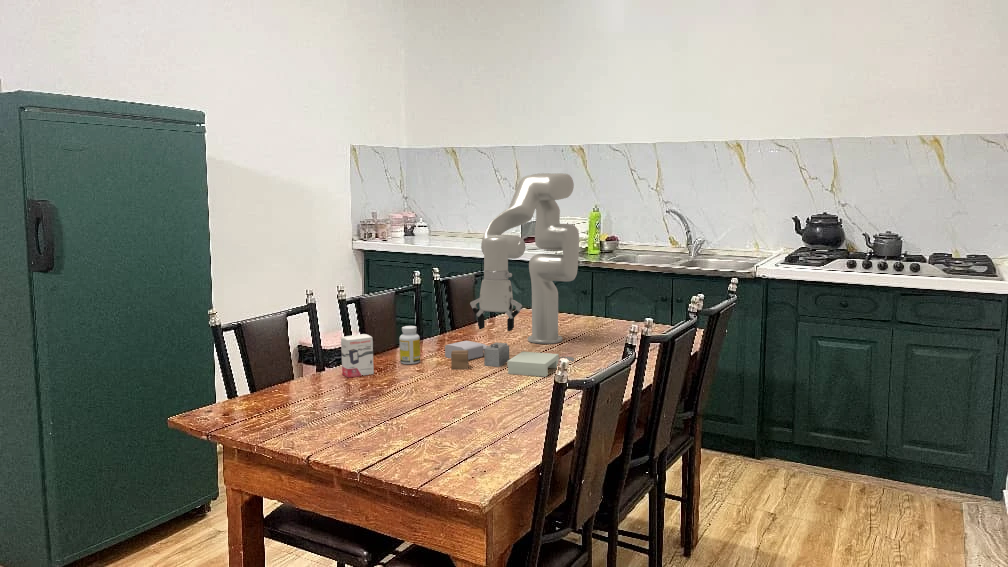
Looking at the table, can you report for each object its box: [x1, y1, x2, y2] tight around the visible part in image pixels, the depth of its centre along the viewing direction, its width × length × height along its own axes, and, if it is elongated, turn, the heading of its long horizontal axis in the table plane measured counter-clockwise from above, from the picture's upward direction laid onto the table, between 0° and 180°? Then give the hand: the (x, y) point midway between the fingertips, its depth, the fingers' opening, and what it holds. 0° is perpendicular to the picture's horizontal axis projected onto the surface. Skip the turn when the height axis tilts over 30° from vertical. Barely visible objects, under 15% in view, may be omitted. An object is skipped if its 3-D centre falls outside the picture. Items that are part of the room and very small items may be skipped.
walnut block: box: [450, 350, 469, 371], centre depth 252 cm, size 5×5×5 cm
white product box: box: [340, 333, 375, 379], centre depth 244 cm, size 8×5×12 cm, turn 123°
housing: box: [483, 341, 510, 368], centre depth 257 cm, size 9×5×7 cm, turn 158°
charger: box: [444, 340, 489, 361], centre depth 268 cm, size 5×9×15 cm
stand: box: [506, 350, 560, 378], centre depth 248 cm, size 14×12×4 cm
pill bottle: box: [398, 325, 421, 365], centre depth 259 cm, size 6×6×12 cm
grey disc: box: [558, 356, 575, 362], centre depth 261 cm, size 5×5×1 cm
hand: (495, 329), depth 256 cm, fingers open, 9 cm apart
